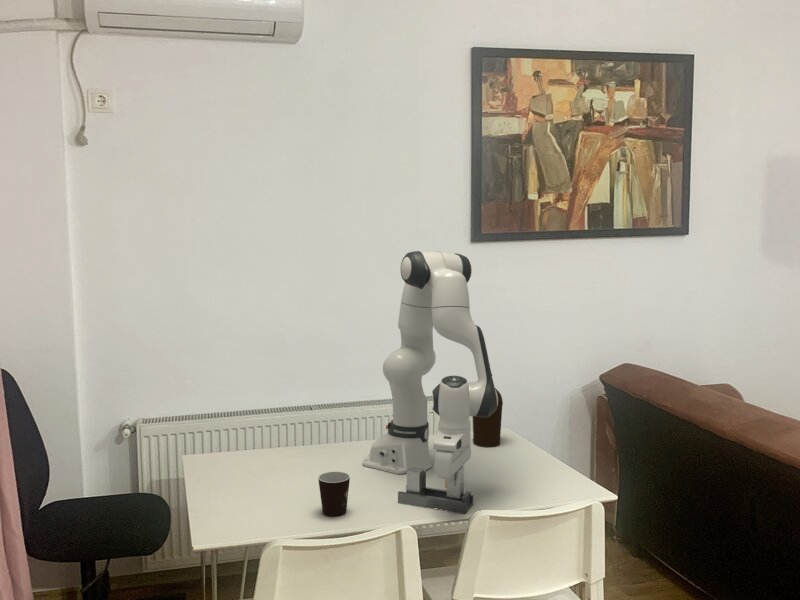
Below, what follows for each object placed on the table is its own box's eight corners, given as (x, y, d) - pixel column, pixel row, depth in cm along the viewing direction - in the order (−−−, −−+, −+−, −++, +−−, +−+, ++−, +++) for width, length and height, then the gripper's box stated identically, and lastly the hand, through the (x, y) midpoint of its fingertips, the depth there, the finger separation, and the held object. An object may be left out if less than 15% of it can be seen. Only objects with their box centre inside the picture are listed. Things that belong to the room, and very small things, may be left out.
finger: (444, 497, 212) (444, 469, 211) (449, 492, 216) (448, 464, 215) (460, 499, 211) (459, 470, 210) (464, 494, 214) (463, 466, 213)
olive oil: (484, 449, 263) (484, 378, 260) (465, 441, 272) (466, 372, 269) (508, 444, 269) (509, 374, 266) (489, 437, 278) (490, 369, 275)
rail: (397, 502, 216) (397, 471, 215) (407, 494, 223) (407, 464, 222) (465, 513, 208) (465, 481, 207) (473, 504, 215) (473, 473, 214)
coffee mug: (337, 521, 204) (337, 484, 203) (312, 514, 208) (311, 478, 207) (362, 506, 214) (362, 471, 212) (337, 500, 218) (337, 466, 217)
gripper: (455, 424, 222) (455, 471, 224) (430, 445, 203) (431, 495, 205) (476, 426, 220) (476, 473, 221) (453, 447, 201) (453, 498, 202)
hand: (454, 484), depth 213 cm, fingers closed on finger, 4 cm apart
